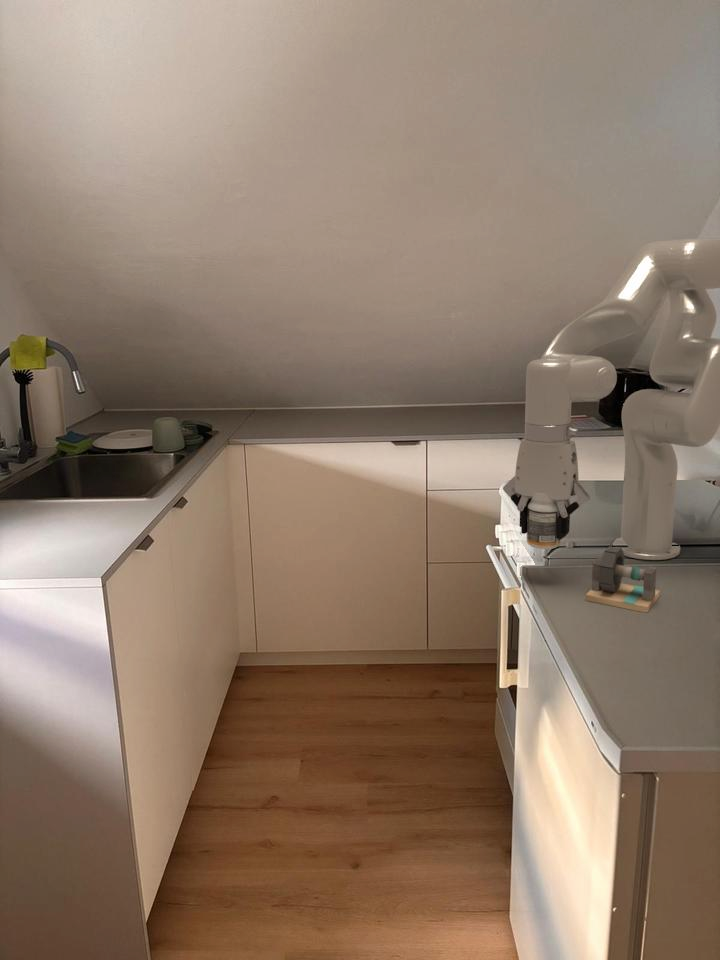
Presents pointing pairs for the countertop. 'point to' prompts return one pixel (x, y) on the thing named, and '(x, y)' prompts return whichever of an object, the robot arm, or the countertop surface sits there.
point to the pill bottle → (542, 522)
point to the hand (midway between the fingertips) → (543, 533)
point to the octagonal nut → (610, 569)
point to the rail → (626, 588)
